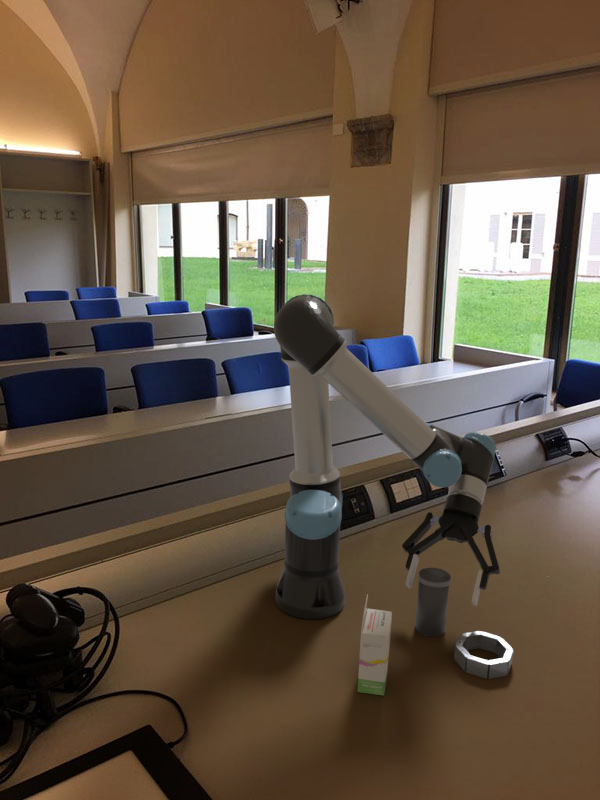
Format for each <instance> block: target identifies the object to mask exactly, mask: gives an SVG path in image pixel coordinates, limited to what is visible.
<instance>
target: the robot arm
mask: <svg viewBox="0 0 600 800" xmlns="http://www.w3.org/2000/svg"><path fill="white" fill-rule="evenodd" d="M334 323H335V319H334V313H333V312H332V309H331V306H329V304H328V303H327V302H326V301H325V300H324V299H322V298H321V297H319V296H317V295H314V294H298V295H294V296H292V297H291V298H289V299H288V300H286V302H285V303H284V305H283V306H281V308H280V309H279V311H278V312H277V313H276V316H275V318H274V322H273V334H274V337H275V339H276V341H277V343H278V345H279V348H280V358H281V359H280V360H281V361H282V362H283V363H284V364H285V365H287V366H288V377H289V390H290V392H289V393H290V395H289V396H290V407H291V408H290V409H291V420H292V421H291V423H292V424H291V425H292V437H293V440H292V441H293V451H294V465H295V468H294V469H293V470H291V472H290V473H289V476H288V477H289V492H290V497H289V498H288V500H287V502H286V506H285V510H284V522H285V525H284V526H285V527H284V528H285V533H284V535H285V537H284V564H283V565H284V566H283V569H282V572H281V575H280V577H279V580H278V582H277V585H276V588H275V598H274V599H275V604H276V606H277V607H278V608H279V609H280V611H282V612H283V613H285V614H287V615H290V616H292V617H293V618H294V617H295V618H299V619H306V620H319V619H326V618H329V617H332V616H334V615H336V614H338V613H340V612H341V611H342V610H343V609H344V607H345V604H346V590H345V586H344V584H343V580H342V576H341V574H340V573H341V572H340V571H339V569H340V568H339V563H340V562H339V561H340V541H341V540H340V539H341V522H342V516H343V514H342V508H343V503H344V501H343V496H344V495H343V492H342V488H341V487H342V486H341V474H340V470H338V469H337V468H336V467H335V466H334V465H333V464H334V463H333V446H332V445H333V443H332V427H331V426H332V425H331V409H330V408H331V407H330V389H329V385H330V386H331V388H333V389H334V390H335V391H336V392H338V394H339V395H341V396H342V397H343V398H344V399H345V400H346V402H348V403H350V405H351V406H352V407H354V408H355V409H356V410H357V412H359V413H360V414H361V415H363V417H365V418H366V419H367V421H369V423H370V424H372V426H374V427H375V428H376V429H377V430H378V431H380V432H381V433H382V434H383V436H385V437H386V438H387V439H388V440H389V441H390V442H391V443H392V444H393V445H395V447H397V448H398V449H399V450H400V451H401V452H402V453H403V454H404V455H405V456H406V457H407V458H408V459H410V461H412V462H413V464H414V465H415V466H417V468H419V469H420V470H421V471H422V473H423V475H424V478H425V479H426V481H428V482H429V483H430V484H431V485H432V486H434V487H437V488H441V489H442V488H448V487H449V488H448V493H447V494H448V496H447V497H446V501H445V504H444V508H443V512H442V514H441V515H440V516H438V515H437V516H436V515H434V514H433V513H432V512H430V511H428V512H427V513H426V515H425V517H424V520H423V521H422V522H421V524H420V525H419V526H418V527H417V528H416V529H415V530H414V531H413V532H412V533H411V535H410V536H409V537H408V538H407V539H406V540H405V541H404V542H403V543H402V544H401V546H402V547H401V548H402V549H403V551H404V552H405V553H407V554H408V556H407V560H406V562H405V569H406V571H408V572H407V577H406V580H405V586H406V587H407V588H408V589H412V587H413V583H414V579H415V576H416V573H417V568H418V565H419V562H420V558H419V555H420V554H422V553H424V552H425V551H426V550H428V549H430V548H431V547H433V546H434V545H435V544H437V543H438V542H441V541H442V540H444V539H446V540H448V541H449V542H457V543H460V544H463V543H467V545H468V546H469V548H470V550H471V551H472V553H473V555H474V557H475V559H476V561H477V562H478V564H479V566H480V568H481V569H478V572H477V576H476V581H475V584H474V588H473V593H472V597H471V604H472V606H476V607H477V606H478V602H479V597H480V595H481V594H480V592H481V590H483V591H486V589H487V588H488V583H489V579H490V576H491V575H499V574H500V573H501V569H500V566H499V562H498V559H497V555H496V552H495V547H494V545H493V540H492V536H493V535H492V534H493V530H492V526H491V525H490V524H486V525H479V521H480V516H481V512H482V509H483V507H482V505H483V503H484V500H485V496H486V492H487V487H488V482H489V480H490V476H491V475H490V474H491V472H492V469H493V468H492V467H493V465H494V464H493V463H494V462H495V454H496V449H497V446H496V443H495V440H494V439H493V438H492V437H490V436H489V435H487V434H484V433H483V432H482V433H478V432H476V431H474V432H473V431H472V432H467V433H466V434H465V435H464V436H463V437H461V436H459V435H456V434H454V433H451V432H449V431H448V430H445V429H443V428H441V427H438V426H435V425H433V424H432V423H429V422H425V421H424V420H423V419H422V418H421V417H420V416H419V415H417V413H416V412H414V411H413V410H412V409H411V408H410V407H409V406H408V405H407V404H406V403H405V402H404V401H403V400H402V399H401V398H400V397H398V395H396V394H395V393H394V391H392V390H391V389H390V388H389V387H388V386H387V385H386V384H385V383H384V382H383V381H382V380H381V379H380V378H379V377H377V376H376V374H374V373H373V372H372V371H371V370H370V369H369V368H368V367H367V366H366V365H365V364H364V363H363V362H362V361H360V359H358V358H357V357H356V356H355V354H353V353H352V352H351V350H349V349H348V348H347V347H348V346H347V340H346V339H345V338H344V337H343V336H342V335H341V334H340V333H339V332H338V331H337V329H335V327H334ZM436 524H438V525H439V527H438V528H436V529H435V531H434V532H432V533H431V534H430V535H428V536H426V537H425V538H423V537H424V536H425V535H426V533H427V532H429V530H430V529H431V528H432V527H433V526H435V525H436ZM478 532H479V533H480V535H481V537H483V538H484V540H485V541H484V542H485V544H486V548H487V552H488V556H489V559H490V563H491V565H488V562H487V561H486V559H485V557H484V555H483V554H482V552H481V551H480V549H479V547H478V545H477V543H476V541H475V539H474V537H475V536H476V535H477V534H478ZM422 538H423V539H422ZM421 539H422V540H421ZM420 540H421V541H420Z"/></svg>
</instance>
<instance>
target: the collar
mask: <svg viewBox="0 0 600 800" xmlns="http://www.w3.org/2000/svg"><path fill="white" fill-rule="evenodd" d="M477 649H481V650H484V651H488V652H492V653H494V654H496V655H497V656H498V658H494V659H489V660H488V659H484V658H482V657H478V656H474V655H471V654H470V653H469V651H470V650H477ZM513 656H514V648H512V646H511V645H510V644H509V643H508V642H507V641H506V640H505V639H504V638H503V637H501V636H498V635H496V634H492V633H490V632H486V631H481V630H476V631H470V632H464V633H461V634H460V635H459V637H458V638H457V641H456V642H455V645H454V655H453V660H454V661H455V662H456V663H457V664H458V666H459V667H460V668H461V669H462V670H463V672H465V673H466V674H469V675H473V676H477V677H478V678H482V679H486V680H487V679H488V680H491V679H497V678H498V679H499V678H502V677H506V676H508V675H509V672H510V670H511V667H512V665H513Z"/></svg>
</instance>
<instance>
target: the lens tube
mask: <svg viewBox="0 0 600 800" xmlns="http://www.w3.org/2000/svg"><path fill="white" fill-rule="evenodd" d="M417 579H418V588H417V599H416V613H415V623H414V624H415V625H414V626H415V630H416V631H417V632H418V633H419V634H420V635H423V636H426V637H429V638H438V637H441V636H443V635H444V634H445V633H446V625H447V624H446V623H447V613H448V611H447V610H448V602H449V592H450V591H449V590H450V585H451V583H452V582H451V581H452V580H451V579H452V576H451V574H450V573H449V572H448V571H446V570H444V569H443V568H439V567H424V568H422V569H420V570H419V571H418V574H417Z"/></svg>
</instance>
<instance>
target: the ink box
mask: <svg viewBox="0 0 600 800" xmlns="http://www.w3.org/2000/svg"><path fill="white" fill-rule="evenodd" d="M368 597H369V594H366V599H365V603H364V608H363V613H362V621H361V622H362V623H361V628H360V643H359V644H360V645H359V657H358V658H359V659H358V660H359V661H358V676H357V677H358V678H357V693H363V694H367V695H368V694H370V695H376V696H385V691H386V685H387V676H388V669H389V659H390V657H389V656H390V645H391V633H392V632H391V631H392V622H393V621H392V618H393V612H392V611H391V610H390V611H389V610H383V609H380V610H379V609H375V608H374V609H373V608H367V606H368V605H367V604H368V599H369V598H368Z"/></svg>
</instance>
